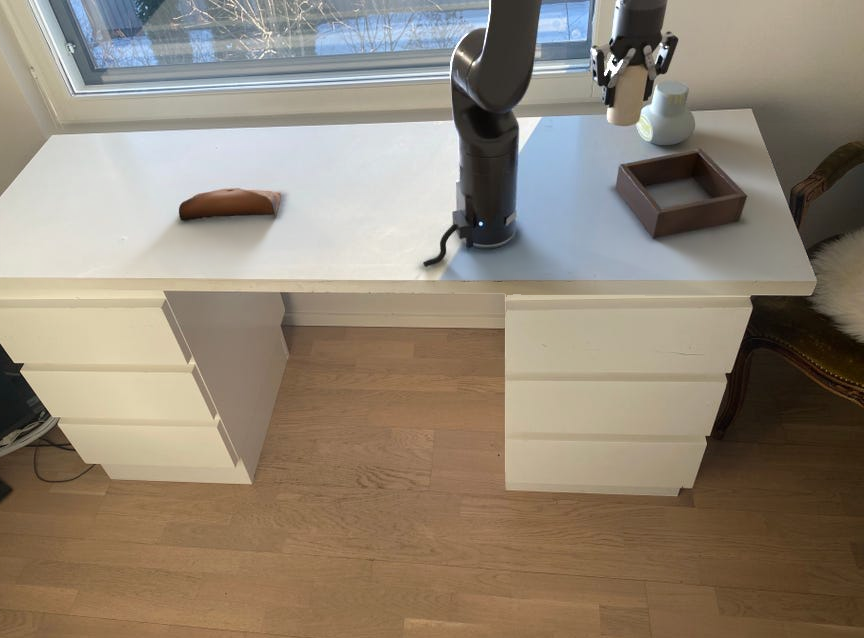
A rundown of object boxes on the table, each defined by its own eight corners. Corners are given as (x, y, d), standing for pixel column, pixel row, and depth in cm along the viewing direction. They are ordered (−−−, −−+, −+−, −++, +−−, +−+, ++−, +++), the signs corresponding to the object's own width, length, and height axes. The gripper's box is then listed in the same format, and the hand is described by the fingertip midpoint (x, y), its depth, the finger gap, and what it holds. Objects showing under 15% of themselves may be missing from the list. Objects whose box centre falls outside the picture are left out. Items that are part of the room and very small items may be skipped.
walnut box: (652, 238, 118) (658, 213, 114) (615, 189, 128) (619, 164, 124) (739, 220, 118) (747, 195, 115) (695, 173, 129) (701, 148, 125)
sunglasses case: (282, 190, 137) (273, 174, 130) (281, 225, 135) (272, 210, 129) (190, 196, 139) (177, 180, 132) (189, 230, 137) (175, 216, 131)
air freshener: (629, 127, 141) (637, 78, 134) (669, 120, 142) (679, 70, 134) (653, 156, 134) (664, 105, 126) (696, 147, 134) (708, 97, 127)
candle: (640, 126, 121) (650, 69, 114) (606, 126, 122) (614, 69, 115) (639, 110, 125) (648, 53, 117) (606, 110, 126) (613, 54, 119)
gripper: (675, -19, 112) (655, 85, 124) (586, -3, 111) (576, 100, 124) (698, -2, 107) (676, 105, 119) (606, 15, 106) (593, 121, 118)
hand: (625, 102), depth 121 cm, fingers closed on candle, 5 cm apart
